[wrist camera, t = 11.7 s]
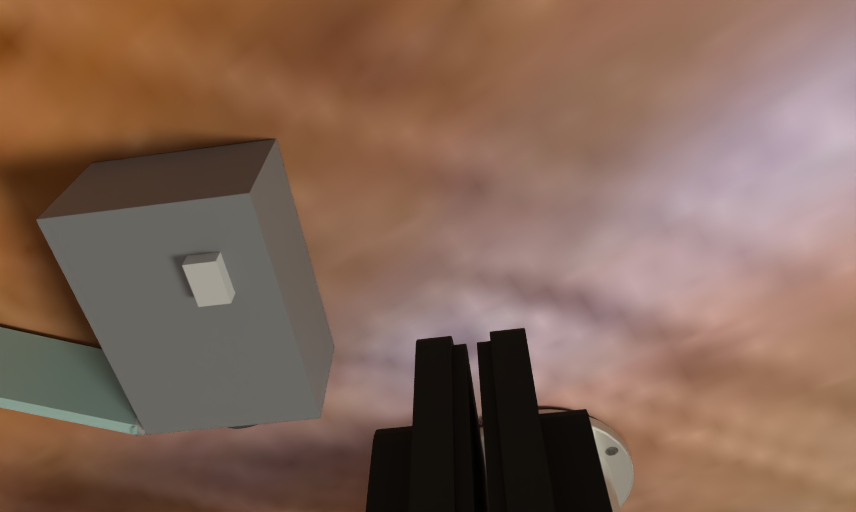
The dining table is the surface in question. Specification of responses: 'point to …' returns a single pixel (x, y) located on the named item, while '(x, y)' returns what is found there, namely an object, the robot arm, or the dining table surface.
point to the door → (62, 382)
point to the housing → (197, 285)
